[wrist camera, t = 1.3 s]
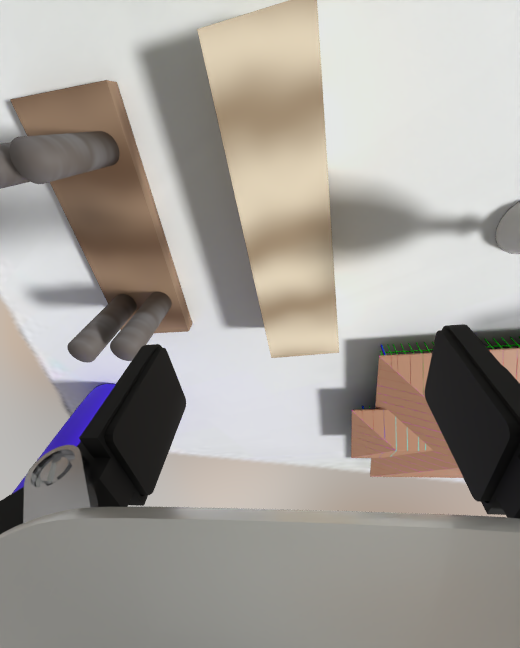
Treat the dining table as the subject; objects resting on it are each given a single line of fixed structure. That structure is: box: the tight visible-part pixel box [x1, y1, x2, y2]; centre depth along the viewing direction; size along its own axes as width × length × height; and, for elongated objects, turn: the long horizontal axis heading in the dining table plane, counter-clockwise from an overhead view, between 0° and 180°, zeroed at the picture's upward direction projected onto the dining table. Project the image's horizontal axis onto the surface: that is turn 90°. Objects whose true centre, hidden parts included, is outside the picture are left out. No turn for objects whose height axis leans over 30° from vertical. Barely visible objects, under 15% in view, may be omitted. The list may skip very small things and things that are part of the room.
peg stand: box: [0, 80, 192, 362], centre depth 25 cm, size 22×8×10 cm, turn 8°
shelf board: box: [197, 0, 339, 358], centre depth 25 cm, size 24×6×6 cm, turn 11°
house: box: [351, 336, 520, 478], centre depth 34 cm, size 23×33×8 cm
